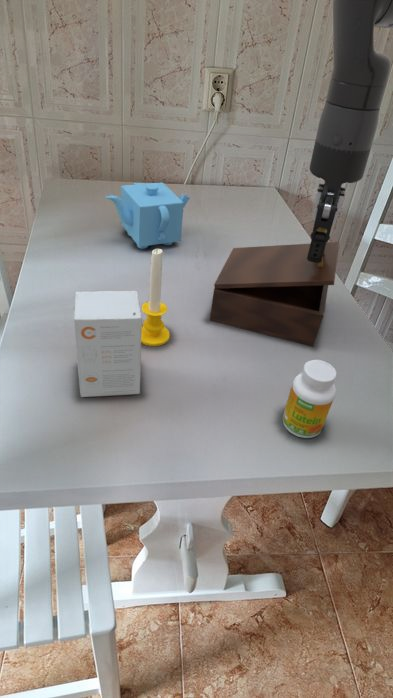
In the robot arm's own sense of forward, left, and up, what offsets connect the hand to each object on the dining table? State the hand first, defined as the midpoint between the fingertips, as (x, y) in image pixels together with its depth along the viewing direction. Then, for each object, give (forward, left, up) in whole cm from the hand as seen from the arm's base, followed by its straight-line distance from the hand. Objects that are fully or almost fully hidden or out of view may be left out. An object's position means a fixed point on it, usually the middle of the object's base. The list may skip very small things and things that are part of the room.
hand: (315, 252), depth 77 cm
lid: (+5, 0, -4) cm, 6 cm away
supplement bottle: (-4, +24, -13) cm, 28 cm away
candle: (+21, +14, -13) cm, 29 cm away
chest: (+5, 0, -13) cm, 14 cm away
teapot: (+34, -17, -13) cm, 40 cm away
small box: (+23, +26, -13) cm, 38 cm away
